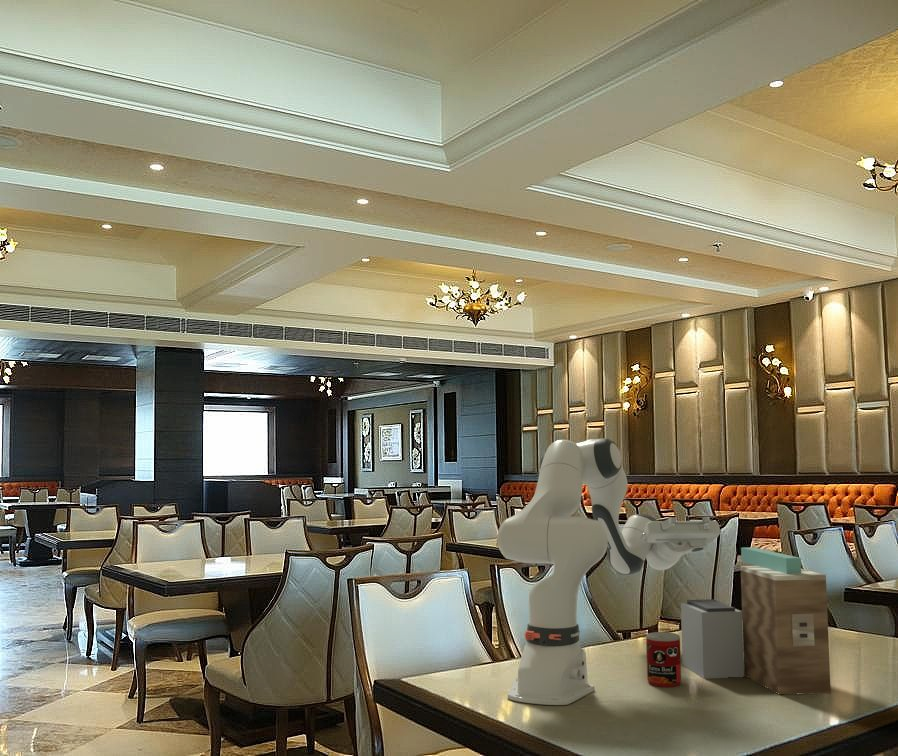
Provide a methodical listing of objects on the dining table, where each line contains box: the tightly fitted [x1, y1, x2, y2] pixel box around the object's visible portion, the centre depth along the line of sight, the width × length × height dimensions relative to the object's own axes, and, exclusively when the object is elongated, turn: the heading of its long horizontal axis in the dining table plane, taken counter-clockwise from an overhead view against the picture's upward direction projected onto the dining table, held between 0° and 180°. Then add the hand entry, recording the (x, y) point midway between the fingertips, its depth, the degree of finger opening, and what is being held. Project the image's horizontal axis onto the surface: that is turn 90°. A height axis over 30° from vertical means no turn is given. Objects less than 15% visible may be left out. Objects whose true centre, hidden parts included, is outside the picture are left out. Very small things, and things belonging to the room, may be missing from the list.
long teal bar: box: [740, 547, 802, 574], centre depth 215 cm, size 24×4×4 cm, turn 6°
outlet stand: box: [740, 565, 832, 695], centre depth 207 cm, size 19×12×26 cm, turn 6°
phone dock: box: [680, 598, 745, 680], centre depth 220 cm, size 14×10×16 cm
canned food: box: [645, 631, 682, 688], centre depth 208 cm, size 8×8×11 cm
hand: (690, 519), depth 238 cm, fingers open, 8 cm apart
